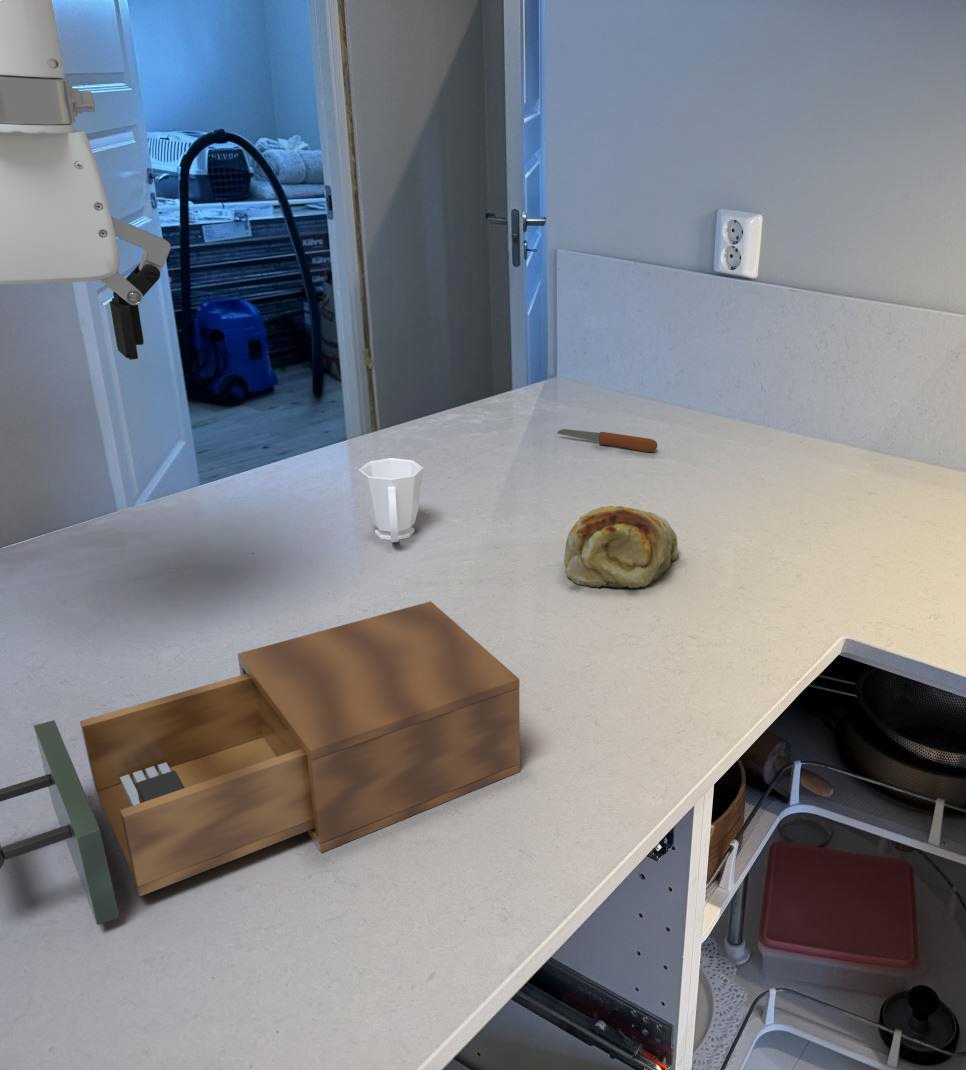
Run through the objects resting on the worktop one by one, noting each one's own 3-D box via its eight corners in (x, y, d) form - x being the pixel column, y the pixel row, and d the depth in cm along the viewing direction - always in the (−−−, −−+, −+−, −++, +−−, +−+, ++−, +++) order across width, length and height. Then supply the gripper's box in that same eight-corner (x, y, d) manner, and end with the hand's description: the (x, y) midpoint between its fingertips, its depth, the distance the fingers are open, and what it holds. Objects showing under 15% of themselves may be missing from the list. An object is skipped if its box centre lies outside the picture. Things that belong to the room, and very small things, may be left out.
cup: (424, 519, 120) (422, 456, 116) (428, 554, 111) (425, 488, 108) (363, 522, 118) (359, 458, 114) (362, 558, 109) (357, 490, 106)
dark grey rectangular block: (210, 849, 65) (204, 812, 64) (160, 868, 63) (153, 831, 62) (168, 770, 72) (161, 736, 70) (121, 786, 70) (114, 751, 68)
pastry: (581, 600, 104) (583, 531, 101) (547, 551, 114) (547, 487, 111) (702, 583, 110) (708, 517, 107) (659, 538, 120) (663, 476, 117)
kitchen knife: (657, 451, 149) (658, 439, 148) (655, 454, 148) (655, 441, 147) (558, 436, 151) (558, 424, 151) (555, 439, 150) (555, 427, 149)
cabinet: (321, 853, 68) (309, 750, 65) (250, 747, 78) (237, 653, 74) (520, 771, 78) (519, 678, 74) (434, 686, 87) (431, 600, 84)
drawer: (-3, 965, 57) (-30, 874, 54) (-35, 835, 66) (-60, 751, 63) (335, 830, 69) (327, 750, 66) (268, 736, 78) (259, 662, 75)
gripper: (136, 109, 73) (170, 340, 80) (-173, 93, 62) (-103, 361, 69) (164, 116, 68) (197, 362, 74) (-167, 100, 57) (-92, 389, 64)
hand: (53, 361), depth 72 cm, fingers open, 9 cm apart
